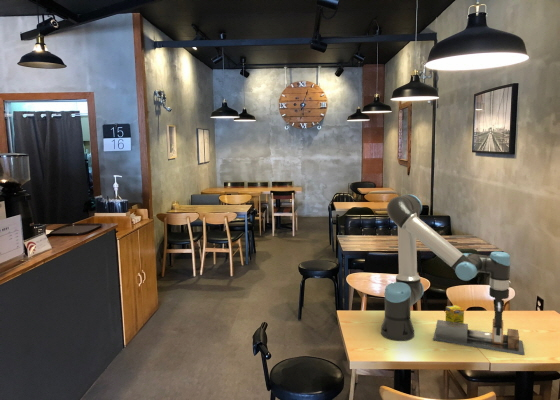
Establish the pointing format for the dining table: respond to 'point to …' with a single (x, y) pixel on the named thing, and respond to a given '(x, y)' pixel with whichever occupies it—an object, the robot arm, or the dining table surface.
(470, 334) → the clear cylinder with block
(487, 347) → the base
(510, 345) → the socket block
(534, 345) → the dining table surface
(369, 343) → the dining table surface
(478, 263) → the robot arm
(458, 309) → the supplement box
